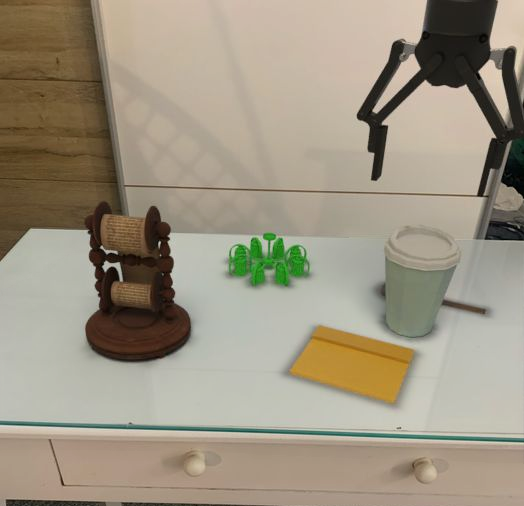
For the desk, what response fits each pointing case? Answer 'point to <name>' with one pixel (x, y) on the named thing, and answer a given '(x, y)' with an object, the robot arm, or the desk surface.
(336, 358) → the envelope
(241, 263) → the chandelier
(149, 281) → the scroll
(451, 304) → the spoon
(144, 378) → the desk surface
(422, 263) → the disposable coffee cup
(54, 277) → the desk surface
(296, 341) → the desk surface
